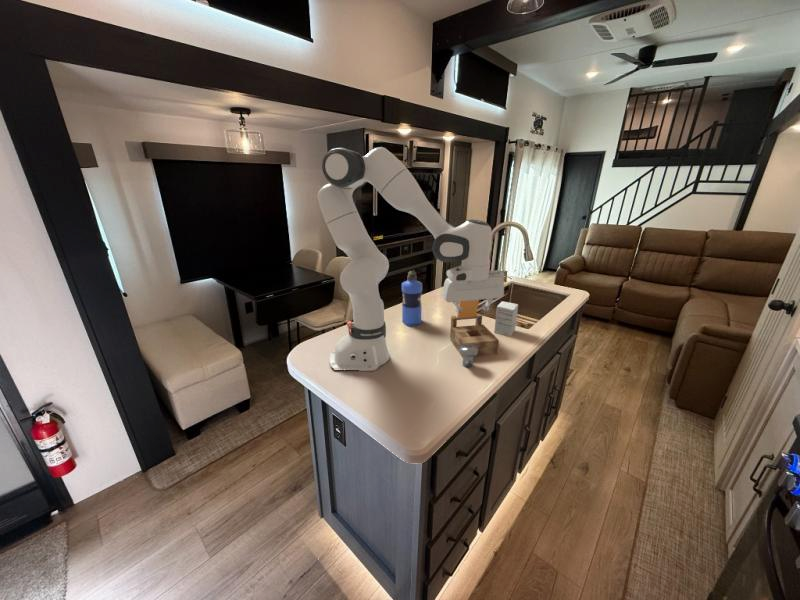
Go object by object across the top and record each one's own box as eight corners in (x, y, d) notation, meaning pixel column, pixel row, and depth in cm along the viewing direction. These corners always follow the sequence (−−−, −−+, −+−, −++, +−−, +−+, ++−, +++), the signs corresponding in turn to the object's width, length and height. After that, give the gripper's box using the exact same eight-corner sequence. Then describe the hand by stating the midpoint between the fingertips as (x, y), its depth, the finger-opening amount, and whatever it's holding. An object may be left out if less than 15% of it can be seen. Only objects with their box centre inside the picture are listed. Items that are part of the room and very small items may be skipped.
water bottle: (401, 326, 142) (401, 273, 133) (402, 317, 151) (401, 268, 142) (421, 326, 142) (422, 273, 133) (421, 317, 151) (422, 268, 142)
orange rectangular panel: (460, 296, 121) (459, 294, 122) (457, 320, 127) (456, 318, 128) (480, 294, 123) (478, 293, 124) (475, 319, 129) (474, 317, 130)
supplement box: (498, 326, 141) (501, 300, 136) (515, 330, 137) (519, 304, 132) (493, 332, 135) (496, 306, 131) (510, 337, 131) (514, 309, 127)
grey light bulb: (462, 370, 108) (463, 353, 106) (456, 361, 114) (457, 344, 111) (479, 368, 109) (481, 351, 107) (472, 359, 115) (473, 342, 112)
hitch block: (462, 357, 116) (464, 333, 112) (448, 337, 131) (449, 316, 128) (497, 353, 118) (499, 330, 115) (479, 334, 133) (481, 313, 130)
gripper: (500, 267, 104) (496, 305, 108) (442, 271, 100) (440, 310, 105) (509, 272, 98) (505, 312, 103) (448, 276, 94) (446, 317, 99)
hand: (472, 311), depth 104 cm, fingers open, 8 cm apart
